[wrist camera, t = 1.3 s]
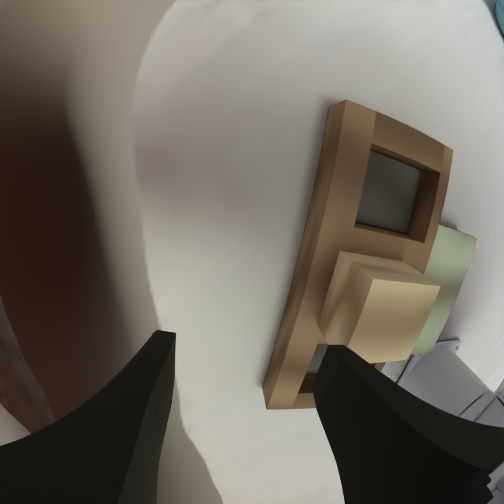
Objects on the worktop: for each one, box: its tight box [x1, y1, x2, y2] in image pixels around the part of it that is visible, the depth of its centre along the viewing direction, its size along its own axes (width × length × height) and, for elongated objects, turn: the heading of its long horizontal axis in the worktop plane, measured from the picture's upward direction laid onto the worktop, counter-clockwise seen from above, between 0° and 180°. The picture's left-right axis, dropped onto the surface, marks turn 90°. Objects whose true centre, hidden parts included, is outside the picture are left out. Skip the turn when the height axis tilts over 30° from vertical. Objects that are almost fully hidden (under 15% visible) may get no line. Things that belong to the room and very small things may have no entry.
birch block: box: [317, 251, 441, 363], centre depth 14 cm, size 5×5×4 cm
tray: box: [262, 100, 477, 409], centre depth 18 cm, size 22×14×2 cm, turn 170°
